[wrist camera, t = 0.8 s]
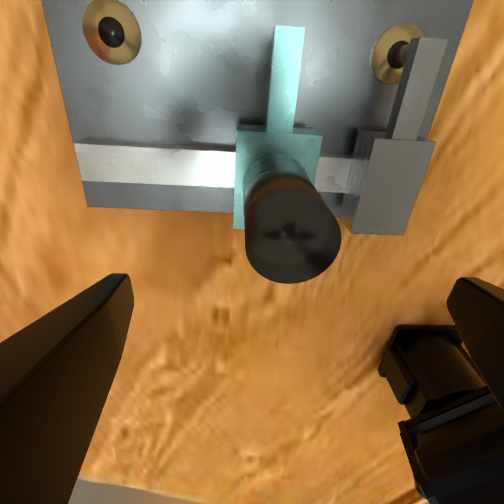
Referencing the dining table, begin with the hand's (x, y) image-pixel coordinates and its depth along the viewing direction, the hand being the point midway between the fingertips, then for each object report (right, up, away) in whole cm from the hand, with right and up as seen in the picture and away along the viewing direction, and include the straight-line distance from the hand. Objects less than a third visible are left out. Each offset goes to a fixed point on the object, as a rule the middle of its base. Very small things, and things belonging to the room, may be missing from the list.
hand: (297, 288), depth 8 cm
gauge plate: (-1, +9, +9) cm, 13 cm away
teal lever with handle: (0, +7, +8) cm, 11 cm away
